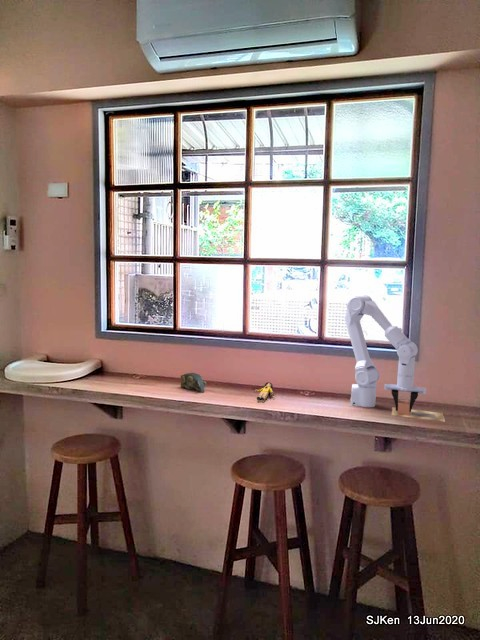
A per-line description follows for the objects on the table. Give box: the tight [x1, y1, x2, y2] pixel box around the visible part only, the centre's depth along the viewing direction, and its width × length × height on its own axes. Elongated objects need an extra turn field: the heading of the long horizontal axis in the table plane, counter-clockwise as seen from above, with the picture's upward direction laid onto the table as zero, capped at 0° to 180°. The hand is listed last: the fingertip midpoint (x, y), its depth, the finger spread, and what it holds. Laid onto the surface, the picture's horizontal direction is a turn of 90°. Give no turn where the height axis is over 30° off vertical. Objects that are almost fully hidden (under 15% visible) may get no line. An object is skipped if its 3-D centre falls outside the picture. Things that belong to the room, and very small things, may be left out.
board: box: [391, 406, 446, 423], centre depth 173 cm, size 18×11×1 cm, turn 71°
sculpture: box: [180, 372, 207, 393], centre depth 204 cm, size 13×6×7 cm, turn 41°
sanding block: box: [398, 398, 410, 415], centre depth 175 cm, size 4×6×4 cm, turn 161°
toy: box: [254, 382, 274, 403], centre depth 195 cm, size 8×4×15 cm
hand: (403, 410), depth 175 cm, fingers closed on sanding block, 4 cm apart
